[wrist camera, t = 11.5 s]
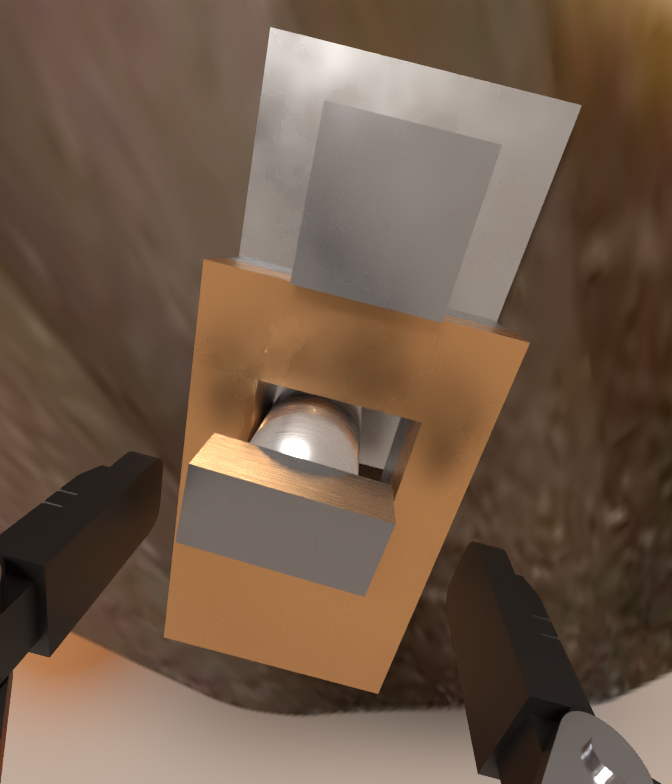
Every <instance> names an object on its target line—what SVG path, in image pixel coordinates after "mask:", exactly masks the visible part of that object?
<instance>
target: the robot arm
mask: <svg viewBox="0 0 672 784" xmlns="http://www.w3.org/2000/svg"><path fill="white" fill-rule="evenodd" d="M162 473H163V462H162V460H161V459H159V458H155V457H152V456H148V455H144V454H140V453H136V452H132V451H131V452H128V453H127V454H125V455H124V456H123V457H122V458H120V459H119V460H118V461H117V462H116V463H114V464H113V465H112V466H111V467H107V466H103V465H102V466H99V467H97V468H94V469H92V470H89V471H87V472H84V473H82V474H79V475H78V476H76V477H75V478H74V479H72V480H71V481H70V482H69V483H67V484H66V485H65V486H63V487H62V488H61V490H60V491H59V492H58V491H57V492H55V493H54V494H53V495H51V496H50V497H49V498H48V499H46V500H45V503H44V504H43V503H41V504H40V505H38V506H37V507H36V508H34V509H33V510H32V511H30V512H29V513H28V514H27V515H25V516H24V517H23V518H21V519H20V520H19V521H17V522H16V523H15V524H13V525H12V526H11V527H10V528H8V529H7V530H6V531H4V532H3V533H2V534H0V782H1V774H2V765H3V757H4V748H5V740H6V731H7V722H8V714H9V704H10V697H11V688H12V679H13V669H14V668H15V667H16V666H17V665H18V663H19V662H20V661H21V660H22V659H23V658H24V656H25V655H26V654H27V653H28V652H31V653H35V654H39V655H42V656H46V657H50V656H51V655H52V654H53V653H54V651H55V650H56V649H57V648H58V646H59V645H60V644H61V643H62V641H63V640H64V639H65V638H66V636H67V635H68V634H69V633H70V631H71V630H72V629H73V628H74V626H75V625H76V624H77V623H78V621H79V620H80V619H81V618H82V616H83V615H84V614H85V613H86V611H87V610H88V609H89V607H90V606H91V605H92V604H93V602H94V601H95V600H96V599H97V597H98V596H99V595H100V594H101V592H102V591H103V590H104V589H105V587H106V586H107V585H108V584H109V582H110V581H111V580H112V579H113V577H114V576H115V575H116V574H117V572H118V571H119V570H120V569H121V567H122V566H123V565H124V564H125V562H126V561H127V560H128V559H129V557H130V556H131V555H132V554H133V552H134V551H135V550H136V549H137V547H138V546H139V545H140V544H141V542H142V541H143V540H144V539H145V537H146V536H147V535H148V534H149V532H150V531H151V529H152V527H153V526H154V524H155V521H156V519H157V516H158V513H159V508H160V497H161V485H162ZM446 610H447V616H448V621H449V627H450V632H451V637H452V642H453V647H454V652H455V658H456V663H457V668H458V673H459V678H460V684H461V689H462V694H463V699H464V704H465V709H466V715H467V720H468V725H469V730H470V735H471V741H472V745H473V751H474V756H475V761H476V766H477V771H478V774H481V775H484V776H488V777H492V778H496V779H500V781H501V784H661V783H659V782H657V781H656V780H654V779H653V778H651V776H650V774H649V772H648V770H647V768H646V766H645V765H644V764H643V762H642V760H641V758H640V757H639V756H638V755H637V753H636V752H635V750H633V748H632V747H631V746H630V745H629V743H628V742H627V741H626V740H625V739H624V738H623V737H622V736H621V735H620V734H619V733H618V732H617V731H615V730H614V729H613V728H612V727H611V726H609V725H608V724H606V723H605V722H604V721H602V720H601V719H599V718H597V717H595V715H594V713H593V710H592V708H591V706H590V704H589V702H588V700H587V698H586V695H585V693H584V691H583V689H582V687H581V685H580V683H579V680H578V678H577V676H576V674H575V672H574V670H573V668H572V665H571V663H570V661H569V659H568V657H567V655H566V653H565V650H564V648H563V646H562V644H561V642H560V641H559V640H558V639H557V637H558V635H557V633H556V631H555V629H554V627H553V625H552V623H551V622H549V616H548V614H547V612H546V610H545V608H544V606H543V603H542V601H541V599H540V597H539V596H538V594H537V593H536V592H535V591H534V590H533V588H532V587H531V586H530V585H529V583H528V582H527V581H526V580H525V579H524V577H523V576H519V575H516V574H515V572H514V570H513V568H512V565H511V563H510V561H509V558H508V556H507V554H506V552H505V551H504V550H503V549H501V548H497V547H493V546H489V545H485V544H481V543H478V542H474V541H473V542H470V543H469V545H468V546H467V548H466V550H465V552H464V554H463V556H462V559H461V561H460V563H459V565H458V567H457V569H456V572H455V574H454V576H453V578H452V580H451V582H450V585H449V588H448V592H447V598H446Z"/></svg>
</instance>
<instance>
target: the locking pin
mask: <svg viewBox="0 0 672 784" xmlns="http://www.w3.org/2000/svg"><path fill="white" fill-rule="evenodd" d="M361 410H362V407H360V406H356V405H352V404H349V403H345V402H341V401H337V400H333V399H329V398H325V397H322V396H318V395H314V394H310V393H306V392H302V391H298V390H294V389H291V388H287V387H284V388H283V389H282V391H281V393H280V394H279V396H278V397H277V399H276V401H275V402H274V404H273V406H272V407H271V409H270V410H269V412H268V414H267V415H266V417H265V418H264V420H263V422H262V423H261V425H260V427H259V428H258V430H257V431H256V433H255V435H254V436H253V438H252V440H251V441H250V443H248V442H244V441H241V440H238V439H234V438H231V437H227V436H224V435H221V434H217V433H214V434H213V435H212V437H211V438H210V439H209V440H208V441H207V443H206V444H205V445H204V446H203V447H202V448H201V450H200V451H199V452H198V453H197V454H196V456H195V457H194V458H193V459H192V460H191V462H190V463H189V465H188V471H187V477H186V483H185V488H184V494H183V500H182V506H181V511H180V517H179V523H178V529H177V535H176V540H175V542H176V543H179V544H183V545H186V546H190V547H193V548H197V549H200V550H204V551H207V552H211V553H214V554H218V555H221V556H224V557H228V558H231V559H235V560H238V561H242V562H245V563H249V564H252V565H256V566H259V567H263V568H266V569H270V570H273V571H276V572H280V573H283V574H287V575H290V576H294V577H297V578H301V579H304V580H308V581H311V582H315V583H318V584H322V585H325V586H328V587H332V588H335V589H339V590H342V591H346V592H349V593H353V594H356V595H360V596H363V597H365V595H366V592H367V590H368V588H369V585H370V583H371V581H372V578H373V576H374V574H375V571H376V569H377V567H378V564H379V562H380V560H381V557H382V555H383V553H384V550H385V548H386V546H387V544H388V541H389V539H390V537H391V534H392V532H393V530H394V527H395V525H396V522H395V511H394V501H393V490H392V485H389V484H386V483H383V482H379V481H376V480H372V479H369V478H366V477H362V476H359V475H358V473H359V452H360V431H361Z"/></svg>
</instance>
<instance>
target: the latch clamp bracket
mask: <svg viewBox="0 0 672 784" xmlns="http://www.w3.org/2000/svg"><path fill="white" fill-rule="evenodd" d="M581 106H582V105H578V104H574V103H570V102H566V101H562V100H558V99H554V98H550V97H546V96H542V95H538V94H534V93H530V92H526V91H522V90H518V89H514V88H510V87H506V86H502V85H498V84H494V83H490V82H486V81H482V80H478V79H475V78H471V77H467V76H463V75H459V74H455V73H451V72H447V71H443V70H439V69H435V68H431V67H427V66H423V65H419V64H415V63H411V62H407V61H403V60H399V59H395V58H391V57H387V56H383V55H379V54H375V53H371V52H367V51H363V50H359V49H355V48H351V47H347V46H343V45H339V44H335V43H331V42H327V41H323V40H319V39H315V38H311V37H307V36H303V35H299V34H295V33H291V32H287V31H283V30H279V29H275V28H271V27H270V34H269V41H268V49H267V56H266V63H265V70H264V78H263V85H262V92H261V100H260V107H259V114H258V122H257V129H256V136H255V144H254V151H253V158H252V166H251V173H250V180H249V188H248V195H247V202H246V210H245V217H244V224H243V231H242V239H241V246H240V253H239V257H228V258H212V259H204V261H203V270H202V280H201V289H200V299H199V308H198V318H197V327H196V337H195V346H194V356H193V365H192V375H191V385H190V394H189V404H188V413H187V423H186V432H185V442H184V451H183V461H182V470H181V480H180V489H179V499H178V508H177V518H176V527H175V537H174V547H173V556H172V566H171V575H170V585H169V594H168V604H167V613H166V623H165V632H164V637H165V638H169V639H172V640H176V641H180V642H184V643H188V644H191V645H195V646H199V647H203V648H206V649H210V650H214V651H218V652H222V653H225V654H229V655H233V656H237V657H240V658H244V659H248V660H252V661H256V662H259V663H263V664H267V665H271V666H275V667H278V668H282V669H286V670H290V671H293V672H297V673H301V674H305V675H309V676H312V677H316V678H320V679H324V680H327V681H331V682H335V683H339V684H343V685H346V686H350V687H354V688H358V689H361V690H365V691H369V692H373V693H377V694H378V693H379V690H380V688H381V686H382V683H383V681H384V679H385V677H386V674H387V672H388V670H389V667H390V665H391V663H392V660H393V658H394V656H395V653H396V651H397V649H398V646H399V644H400V642H401V640H402V637H403V635H404V633H405V630H406V628H407V626H408V623H409V621H410V619H411V616H412V614H413V612H414V609H415V607H416V605H417V603H418V600H419V598H420V596H421V593H422V591H423V589H424V586H425V584H426V582H427V579H428V577H429V575H430V573H431V570H432V568H433V566H434V563H435V561H436V559H437V556H438V554H439V552H440V549H441V547H442V545H443V542H444V540H445V538H446V536H447V533H448V531H449V529H450V526H451V524H452V522H453V519H454V517H455V515H456V512H457V510H458V508H459V505H460V503H461V501H462V499H463V496H464V494H465V492H466V489H467V487H468V485H469V482H470V480H471V478H472V475H473V473H474V471H475V468H476V466H477V464H478V462H479V459H480V457H481V455H482V452H483V450H484V448H485V445H486V443H487V441H488V438H489V436H490V434H491V432H492V429H493V427H494V425H495V422H496V420H497V418H498V415H499V413H500V411H501V408H502V406H503V404H504V401H505V399H506V397H507V395H508V392H509V390H510V388H511V385H512V383H513V381H514V378H515V376H516V374H517V371H518V369H519V367H520V364H521V362H522V360H523V358H524V355H525V353H526V351H527V348H528V346H529V344H530V342H528V341H526V340H525V339H523V338H521V337H520V336H518V335H517V334H515V333H513V332H512V331H510V330H509V329H507V328H505V327H504V326H502V325H500V324H499V323H497V320H498V317H499V315H500V312H501V310H502V307H503V305H504V302H505V300H506V297H507V294H508V292H509V289H510V287H511V284H512V282H513V279H514V277H515V274H516V272H517V269H518V266H519V264H520V261H521V259H522V256H523V254H524V251H525V249H526V246H527V243H528V241H529V238H530V236H531V233H532V231H533V228H534V226H535V223H536V221H537V218H538V215H539V213H540V210H541V208H542V205H543V203H544V200H545V198H546V195H547V192H548V190H549V187H550V185H551V182H552V180H553V177H554V175H555V172H556V170H557V167H558V164H559V162H560V159H561V157H562V154H563V152H564V149H565V147H566V144H567V141H568V139H569V136H570V134H571V131H572V129H573V126H574V124H575V121H576V119H577V116H578V113H579V111H580V108H581ZM284 387H287V388H291V389H294V390H298V391H302V392H306V393H310V394H314V395H318V396H322V397H325V398H329V399H333V400H337V401H341V402H345V403H349V404H352V405H356V406H360V407H362V410H361V431H360V452H359V463H361V464H365V465H368V466H372V467H376V468H380V469H384V470H383V473H382V476H381V479H380V482H383V483H386V484H389V485H392V490H393V501H394V511H395V522H396V525H395V527H394V530H393V532H392V534H391V537H390V539H389V541H388V544H387V546H386V548H385V550H384V553H383V555H382V557H381V560H380V562H379V564H378V567H377V569H376V571H375V574H374V576H373V578H372V581H371V583H370V585H369V588H368V590H367V592H366V595H365V597H363V596H360V595H356V594H353V593H349V592H346V591H342V590H339V589H335V588H332V587H328V586H325V585H322V584H318V583H315V582H311V581H308V580H304V579H301V578H297V577H294V576H290V575H287V574H283V573H280V572H276V571H273V570H270V569H266V568H263V567H259V566H256V565H252V564H249V563H245V562H242V561H238V560H235V559H231V558H228V557H224V556H221V555H218V554H214V553H211V552H207V551H204V550H200V549H197V548H193V547H190V546H186V545H183V544H179V543H176V542H175V540H176V535H177V529H178V523H179V517H180V511H181V506H182V500H183V494H184V488H185V483H186V477H187V471H188V465H189V463H190V462H191V460H192V459H193V458H194V457H195V456H196V454H197V453H198V452H199V451H200V450H201V448H202V447H203V446H204V445H205V444H206V443H207V441H208V440H209V439H210V438H211V437H212V435H213V434H214V433H217V434H221V435H224V436H227V437H231V438H234V439H238V440H241V441H244V442H248V443H250V441H251V440H252V438H253V436H254V435H255V433H256V431H257V430H258V428H259V427H260V425H261V423H262V422H263V420H264V418H265V417H266V415H267V414H268V412H269V410H270V409H271V407H272V406H273V404H274V402H275V401H276V399H277V397H278V396H279V394H280V393H281V391H282V389H283V388H284Z"/></svg>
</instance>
